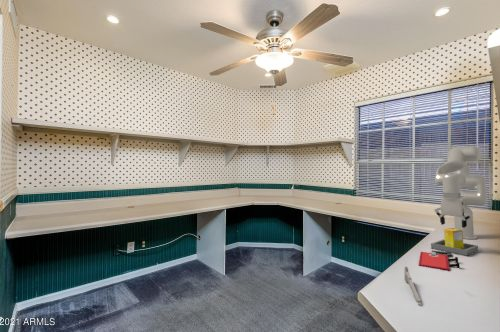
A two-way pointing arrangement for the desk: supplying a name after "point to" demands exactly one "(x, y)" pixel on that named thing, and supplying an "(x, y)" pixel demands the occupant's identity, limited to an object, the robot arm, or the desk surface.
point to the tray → (466, 251)
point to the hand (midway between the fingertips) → (453, 225)
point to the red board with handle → (437, 260)
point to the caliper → (411, 285)
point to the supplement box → (454, 238)
